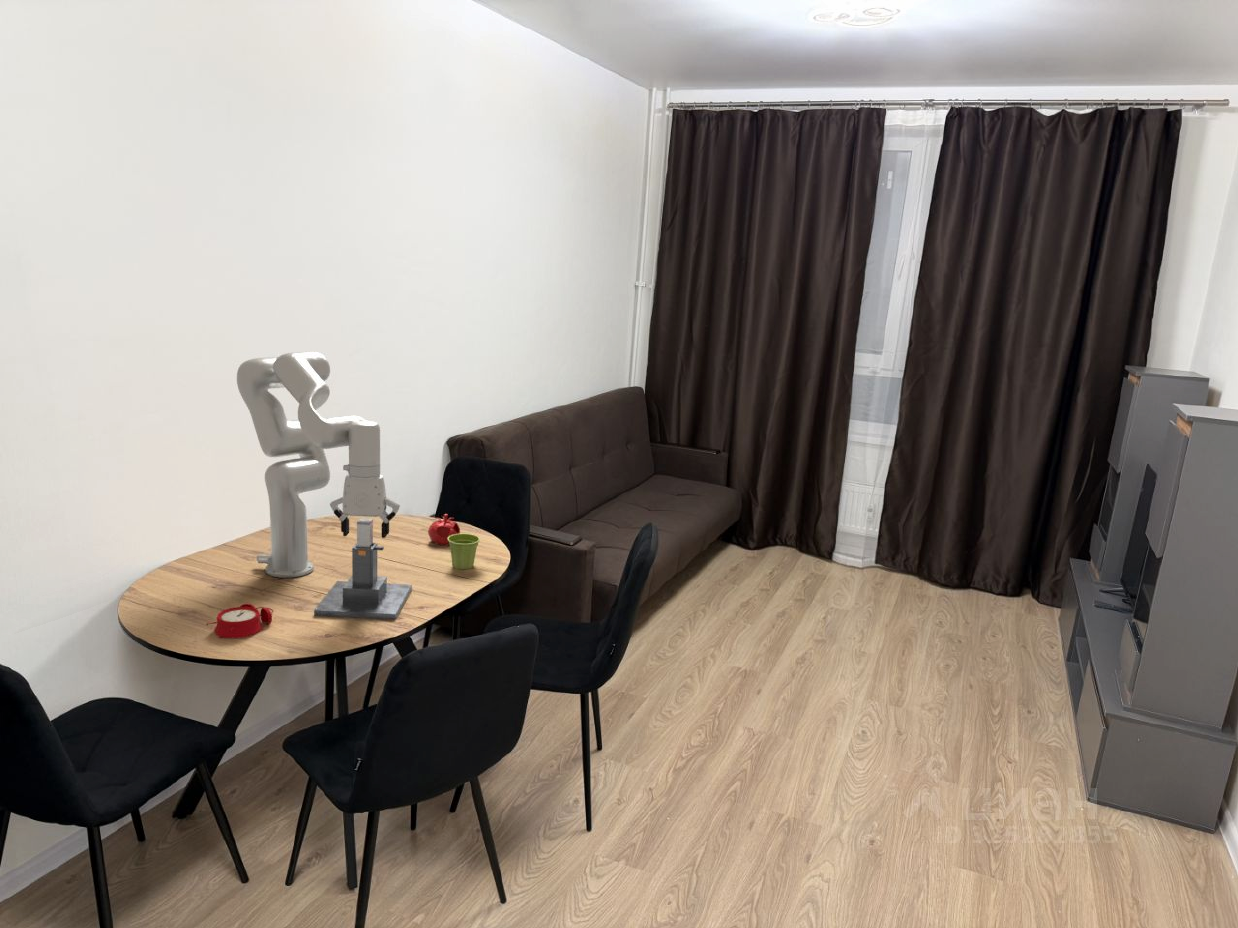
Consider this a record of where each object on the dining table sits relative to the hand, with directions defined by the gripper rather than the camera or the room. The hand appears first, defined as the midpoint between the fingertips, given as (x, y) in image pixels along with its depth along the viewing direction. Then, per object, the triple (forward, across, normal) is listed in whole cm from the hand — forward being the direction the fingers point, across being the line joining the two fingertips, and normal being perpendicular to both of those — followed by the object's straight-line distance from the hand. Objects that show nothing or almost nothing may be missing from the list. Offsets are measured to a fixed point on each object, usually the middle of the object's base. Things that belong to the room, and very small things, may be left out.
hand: (365, 535), depth 219 cm
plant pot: (+18, +21, +30) cm, 41 cm away
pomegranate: (+18, +12, +51) cm, 56 cm away
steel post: (+13, 0, 0) cm, 13 cm away
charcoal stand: (+18, 0, 0) cm, 18 cm away
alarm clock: (+19, -24, -18) cm, 35 cm away
